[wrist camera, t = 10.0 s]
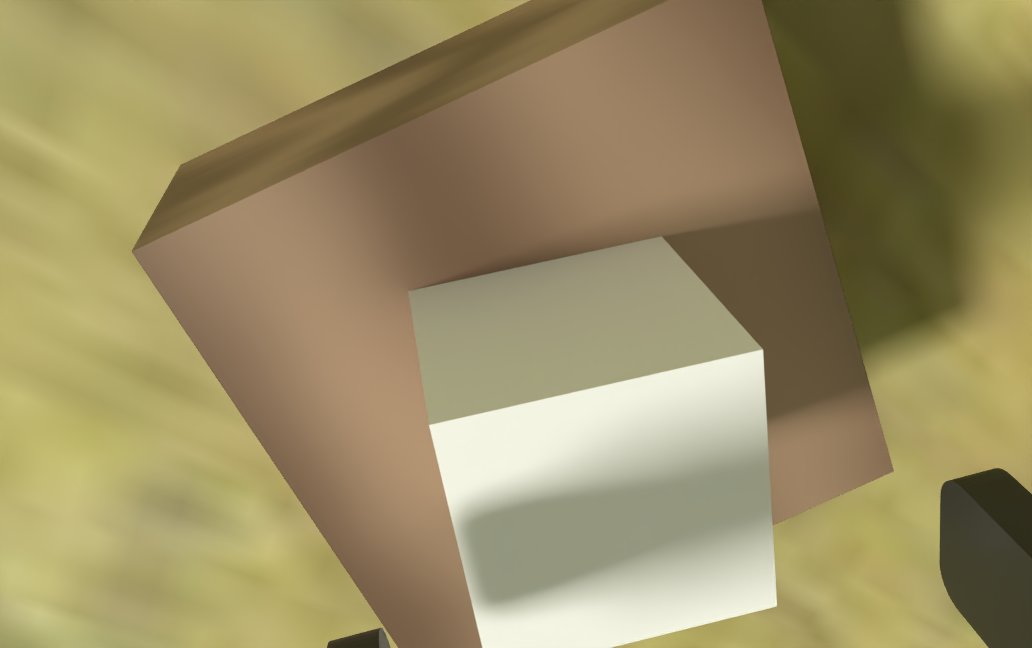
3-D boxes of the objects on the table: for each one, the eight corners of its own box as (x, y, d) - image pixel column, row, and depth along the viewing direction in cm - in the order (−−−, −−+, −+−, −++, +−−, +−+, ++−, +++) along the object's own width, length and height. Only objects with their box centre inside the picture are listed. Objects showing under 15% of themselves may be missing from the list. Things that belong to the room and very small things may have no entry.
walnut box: (650, -59, 22) (751, -39, 16) (785, 354, 27) (893, 471, 22) (182, 161, 22) (131, 251, 17) (406, 526, 28) (422, 682, 22)
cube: (661, 236, 18) (762, 349, 14) (683, 449, 21) (776, 605, 16) (408, 290, 18) (428, 424, 14) (457, 501, 20) (489, 678, 16)
